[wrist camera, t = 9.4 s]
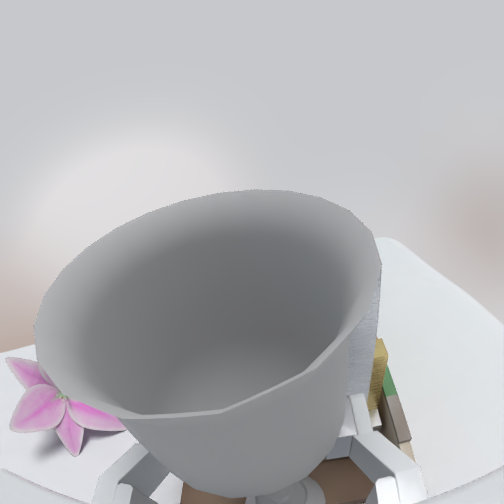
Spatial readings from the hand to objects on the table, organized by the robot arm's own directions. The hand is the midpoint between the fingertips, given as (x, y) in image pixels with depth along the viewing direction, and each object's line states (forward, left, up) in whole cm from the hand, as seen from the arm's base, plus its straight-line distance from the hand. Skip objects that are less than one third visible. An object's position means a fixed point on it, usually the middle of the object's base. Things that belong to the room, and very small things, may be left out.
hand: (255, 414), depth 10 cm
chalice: (0, -1, -11) cm, 11 cm away
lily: (-19, +7, -13) cm, 24 cm away
